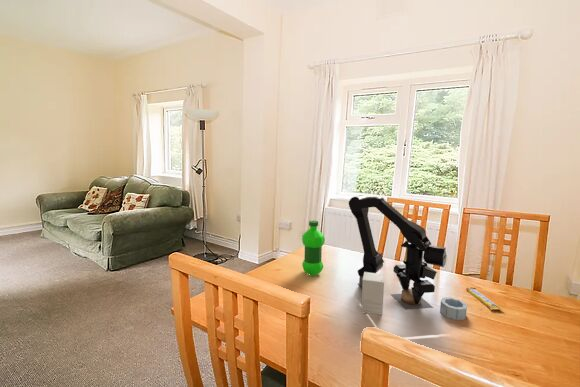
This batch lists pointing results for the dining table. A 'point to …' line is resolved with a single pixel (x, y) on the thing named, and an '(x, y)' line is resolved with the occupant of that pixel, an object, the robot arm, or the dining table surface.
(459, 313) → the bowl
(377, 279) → the supplement box
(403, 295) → the tan rounded dome
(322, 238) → the plastic bottle
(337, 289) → the dining table surface
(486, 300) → the candy bar
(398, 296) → the mat
